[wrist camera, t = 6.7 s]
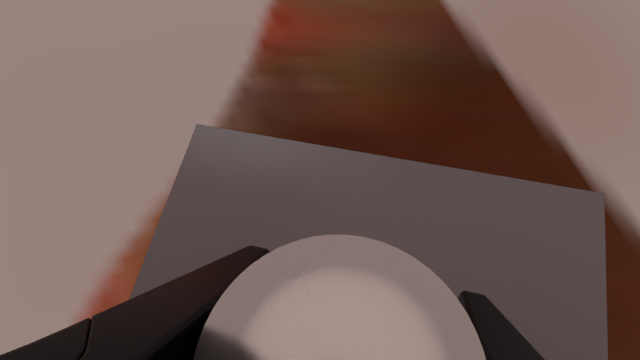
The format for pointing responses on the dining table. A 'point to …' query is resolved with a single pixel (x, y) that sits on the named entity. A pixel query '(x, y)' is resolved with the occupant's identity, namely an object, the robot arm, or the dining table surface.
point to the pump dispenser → (397, 227)
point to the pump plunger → (338, 307)
